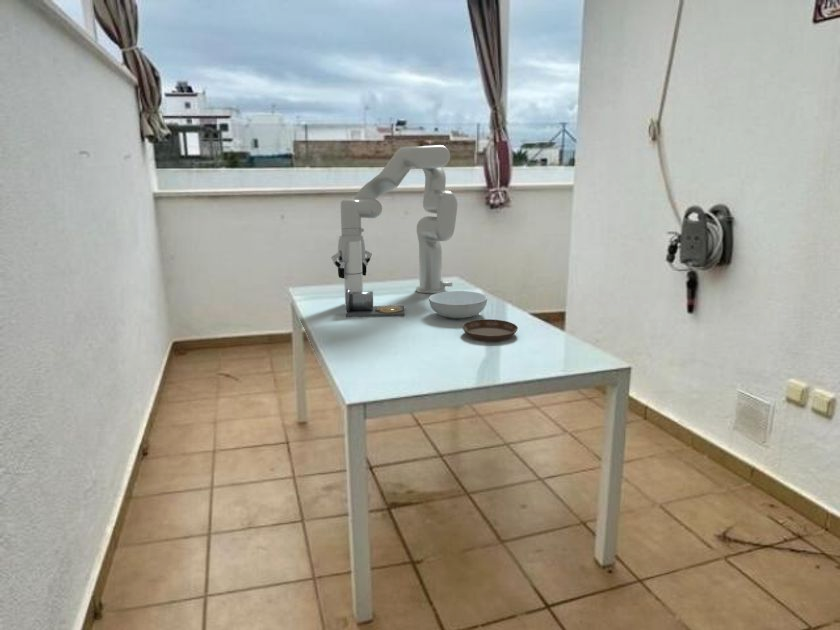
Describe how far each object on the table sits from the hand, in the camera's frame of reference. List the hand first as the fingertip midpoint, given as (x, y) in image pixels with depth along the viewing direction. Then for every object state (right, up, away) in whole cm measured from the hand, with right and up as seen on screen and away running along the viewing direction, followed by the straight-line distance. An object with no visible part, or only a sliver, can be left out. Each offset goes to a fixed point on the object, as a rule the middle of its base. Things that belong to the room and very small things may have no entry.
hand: (352, 276), depth 229 cm
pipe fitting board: (+10, -14, -10) cm, 20 cm away
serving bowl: (+40, -15, -15) cm, 45 cm away
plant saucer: (+49, -22, -39) cm, 66 cm away
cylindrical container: (0, -11, +3) cm, 11 cm away
